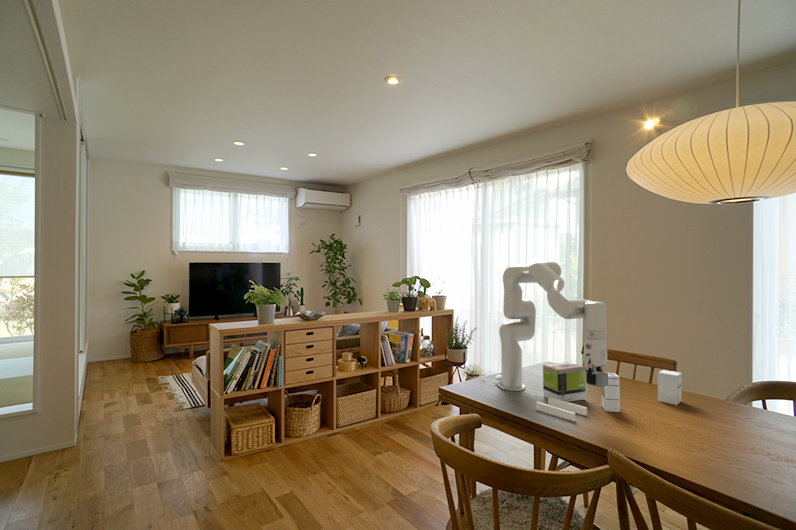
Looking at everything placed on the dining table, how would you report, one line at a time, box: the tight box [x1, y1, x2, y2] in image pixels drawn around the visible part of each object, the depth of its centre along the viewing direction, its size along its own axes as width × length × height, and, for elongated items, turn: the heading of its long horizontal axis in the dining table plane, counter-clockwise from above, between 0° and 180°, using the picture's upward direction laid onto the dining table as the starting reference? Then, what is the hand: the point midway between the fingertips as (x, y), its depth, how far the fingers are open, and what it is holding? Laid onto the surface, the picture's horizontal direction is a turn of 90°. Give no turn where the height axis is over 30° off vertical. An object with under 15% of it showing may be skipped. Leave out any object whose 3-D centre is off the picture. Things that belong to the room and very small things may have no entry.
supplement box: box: [657, 369, 683, 406], centre depth 175 cm, size 7×7×13 cm
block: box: [587, 371, 608, 389], centre depth 150 cm, size 5×5×4 cm
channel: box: [535, 397, 588, 422], centre depth 162 cm, size 16×10×3 cm, turn 39°
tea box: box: [542, 361, 587, 403], centre depth 179 cm, size 15×10×15 cm
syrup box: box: [600, 372, 621, 413], centre depth 165 cm, size 6×6×14 cm
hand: (594, 382), depth 151 cm, fingers closed on block, 5 cm apart
